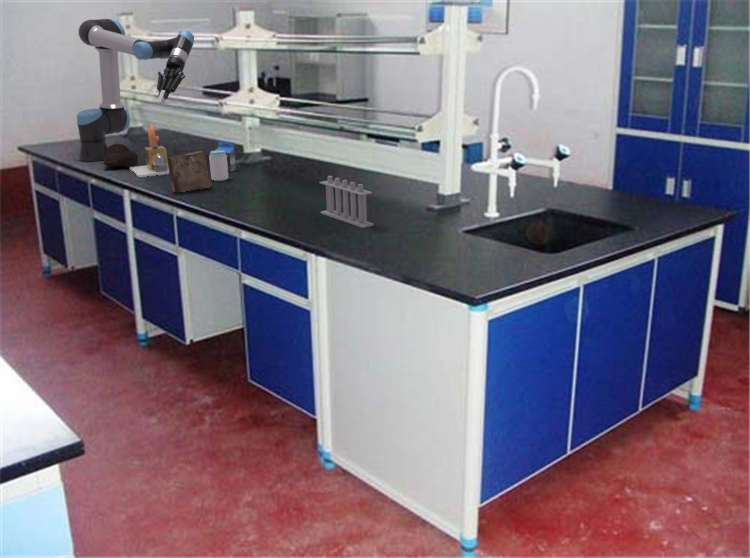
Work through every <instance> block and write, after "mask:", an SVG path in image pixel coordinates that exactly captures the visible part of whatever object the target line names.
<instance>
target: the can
mask: <svg viewBox="0 0 750 558" xmlns="http://www.w3.org/2000/svg"><path fill="white" fill-rule="evenodd" d="M208 158H209V168H210V170H209V171H210V178H211V179H210V180H212V181H213V180H214V181H213V182H225V181H227V180H228V179H229V171H228V167H227V156H226V154H225V152H224V151H223V150H216V149H215V150H211V151H210V152H209V155H208Z"/></svg>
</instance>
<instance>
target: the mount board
mask: <svg viewBox="0 0 750 558" xmlns="http://www.w3.org/2000/svg"><path fill="white" fill-rule="evenodd" d="M129 170H130V171H131V172H132V171H133V172H134V173H135V174H136V177H137V178H139V177H140V178H147V176H149V177H156V175H158V176H166V175H170V174H169V169H167V170H168V171H161V172H155V170H151V171H150V170H149V169H148V168H147V167H146V164H144V165H139V166H138V165H135V166H129ZM133 172H132V173H133ZM134 173H133V174H134ZM135 174H134V175H135ZM165 174H166V175H165Z"/></svg>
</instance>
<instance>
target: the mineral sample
mask: <svg viewBox="0 0 750 558" xmlns="http://www.w3.org/2000/svg"><path fill="white" fill-rule="evenodd" d="M167 163H168V169H169V174H168V175H169V178H170V180H169V181H170V184H171V185H170V186H171V190H172V193H173V192H178V193H177V194H180V193H179V192H183V193H187V192H186V191H189V192H192V191H191V190H193V191H197V190H196V189H200V190H205V189H204V188H209V189H210V188H211V187H212V186H213V184H212V181H211V179H210V178H211V177H210V172H209V169H208V161H207V158H206V155H205V152H204V151H203V149H195V150H191V151H187V152H183V153H178V154H175V155H170V156H167Z"/></svg>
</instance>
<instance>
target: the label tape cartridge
mask: <svg viewBox="0 0 750 558" xmlns="http://www.w3.org/2000/svg"><path fill="white" fill-rule="evenodd" d="M217 143H218V144H217V145H218V147H217V148H216V149H215V150H223V151H224V152H225V154H226V156H227V167H228V172H229V171H230V172H231V171H232V172H235V171H236V170H237V168H236V156H235V143H234V142H232V141H231V142H229V141H218V142H217ZM234 170H235V171H234ZM232 172H231V173H232Z"/></svg>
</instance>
